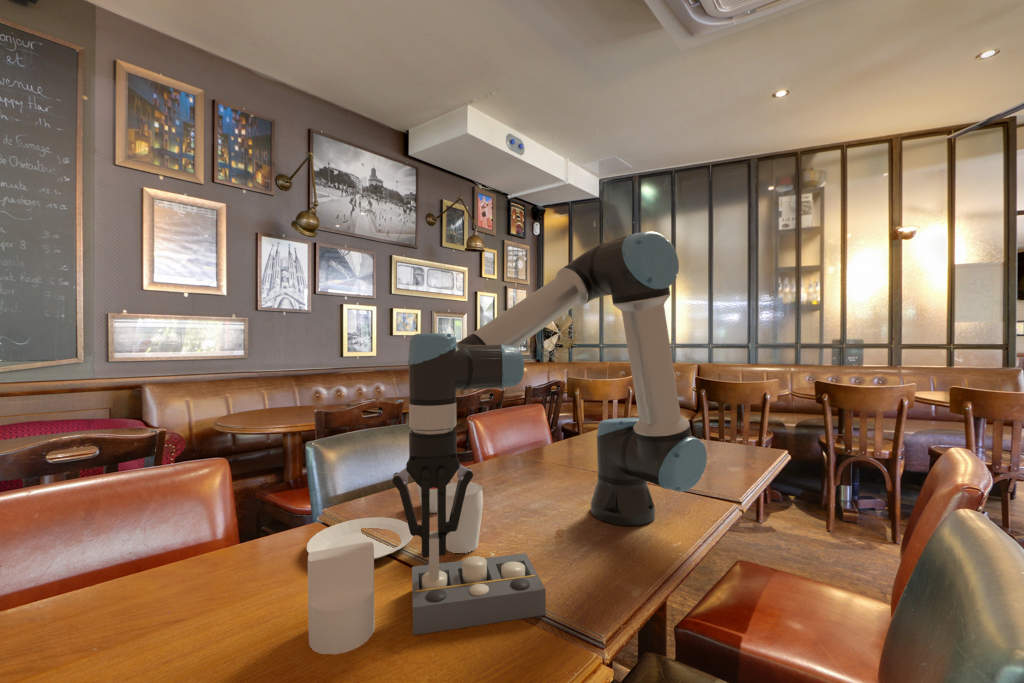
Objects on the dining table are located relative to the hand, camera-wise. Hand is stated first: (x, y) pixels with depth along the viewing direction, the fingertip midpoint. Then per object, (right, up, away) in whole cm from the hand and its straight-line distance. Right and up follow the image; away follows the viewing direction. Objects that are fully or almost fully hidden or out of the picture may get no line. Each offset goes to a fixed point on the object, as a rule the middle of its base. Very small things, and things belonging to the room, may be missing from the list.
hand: (433, 575), depth 72 cm
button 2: (+6, -2, +1) cm, 7 cm away
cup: (+2, -5, +20) cm, 21 cm away
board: (+7, -5, +1) cm, 8 cm away
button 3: (0, -4, 0) cm, 4 cm away
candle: (-7, -5, +42) cm, 42 cm away
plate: (-18, -5, +20) cm, 28 cm away
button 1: (+13, -4, +3) cm, 14 cm away
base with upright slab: (-12, -5, -7) cm, 15 cm away
